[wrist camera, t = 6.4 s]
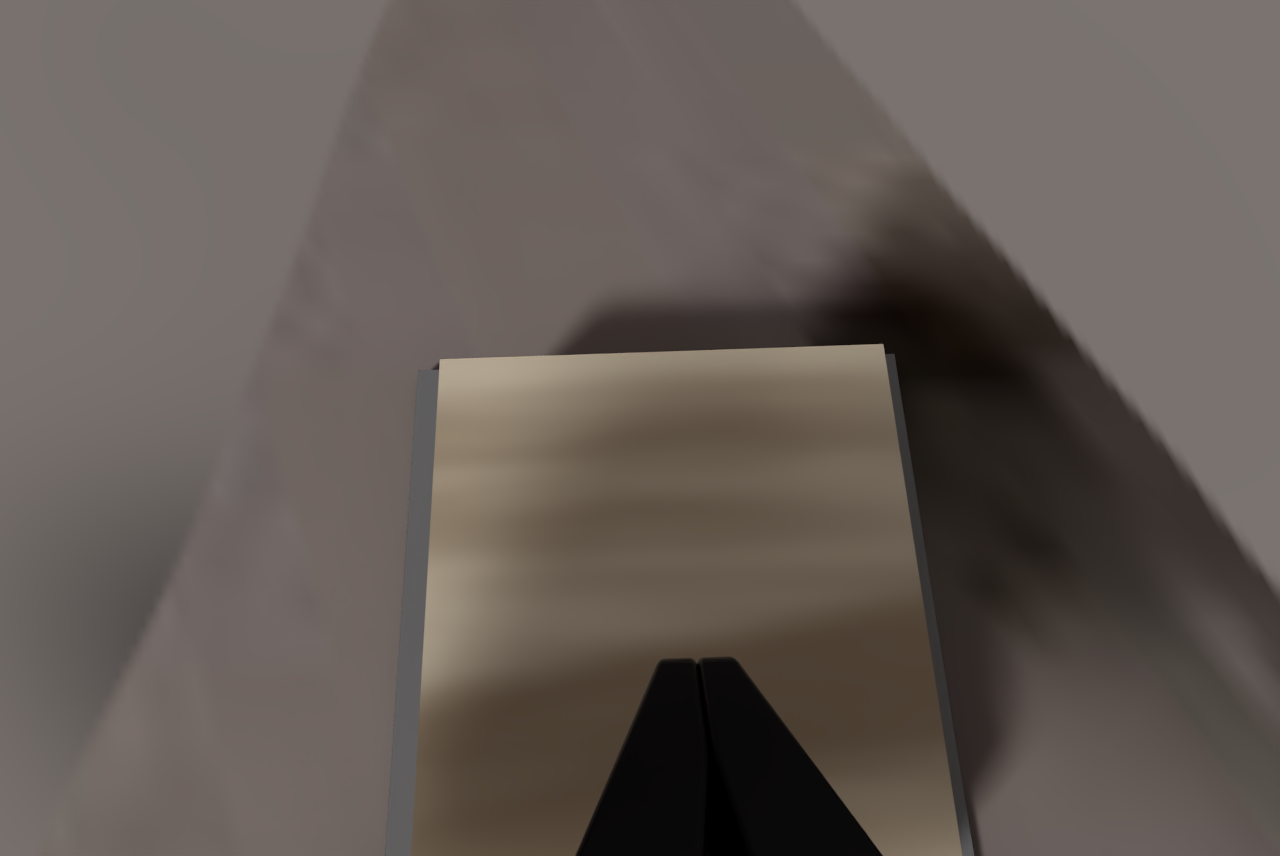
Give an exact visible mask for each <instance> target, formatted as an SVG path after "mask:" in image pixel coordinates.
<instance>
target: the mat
mask: <svg viewBox="0 0 1280 856" xmlns="http://www.w3.org/2000/svg"><path fill="white" fill-rule="evenodd" d="M885 358H886V365H887V371H888V378H889V384H890V391H891V397H892V404H893V410H894V417H895V423H896V430H897V436H898V443H899V449H900V455H901V462H902V468H903V475H904V481H905V488H906V494H907V501H908V507H909V514H910V520H911V527H912V533H913V540H914V546H915V553H916V559H917V565H918V572H919V578H920V585H921V591H922V598H923V604H924V611H925V617H926V624H927V630H928V637H929V643H930V650H931V656H932V662H933V669H934V675H935V682H936V688H937V695H938V701H939V708H940V714H941V721H942V727H943V734H944V740H945V747H946V753H947V759H948V766H949V772H950V779H951V785H952V792H953V798H954V805H955V811H956V818H957V824H958V831H959V837H960V844H961V850H962V856H974V851H973V845H972V839H971V832H970V826H969V820H968V813H967V807H966V801H965V795H964V788H963V782H962V776H961V769H960V763H959V757H958V751H957V744H956V738H955V732H954V726H953V719H952V713H951V707H950V700H949V694H948V688H947V682H946V675H945V669H944V663H943V656H942V650H941V644H940V638H939V631H938V625H937V619H936V612H935V606H934V600H933V594H932V587H931V581H930V575H929V568H928V562H927V556H926V550H925V543H924V537H923V531H922V525H921V518H920V512H919V506H918V499H917V493H916V487H915V481H914V474H913V468H912V462H911V455H910V449H909V443H908V437H907V430H906V424H905V418H904V411H903V405H902V399H901V393H900V386H899V380H898V374H897V367H896V361H895V355H894V354H885ZM438 383H439V370H418V377H417V391H416V406H415V421H414V436H413V450H412V465H411V480H410V494H409V509H408V524H407V538H406V553H405V568H404V582H403V597H402V612H401V626H400V641H399V656H398V670H397V685H396V700H395V714H394V729H393V744H392V758H391V773H390V788H389V802H388V817H387V832H386V846H385V856H411V848H412V831H413V814H414V797H415V779H416V762H417V745H418V728H419V711H420V693H421V676H422V659H423V642H424V624H425V607H426V590H427V573H428V555H429V538H430V521H431V504H432V487H433V469H434V452H435V435H436V418H437V400H438Z"/></svg>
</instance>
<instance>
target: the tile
mask: <svg viewBox="0 0 1280 856" xmlns="http://www.w3.org/2000/svg"><path fill="white" fill-rule="evenodd" d="M723 656H731V657H733V658H735V659H736V660H737V661H738V662H739V663H740V664H741V666H742V667H743V668H744V670H745V671H746V672H747V674H748V675H749V676H750V678H751V679H752V680H753V682H754V683H755V684H756V686H757V687H758V688H759V690H760V691H761V692H762V694H763V695H764V696H765V698H766V699H767V701H768V702H769V703H770V705H771V706H772V707H773V709H774V710H775V711H776V713H777V714H778V715H779V717H780V718H781V719H782V721H783V722H784V723H785V725H786V726H787V727H788V729H789V730H790V731H791V733H792V734H793V735H794V737H795V738H796V739H797V741H798V742H799V743H800V745H801V746H802V748H803V749H804V750H805V752H806V753H807V754H808V756H809V757H810V758H811V760H812V761H813V762H814V764H815V765H816V766H817V768H818V769H819V770H820V772H821V773H822V774H823V776H824V777H825V778H826V780H827V781H828V782H829V784H830V785H831V786H832V788H833V789H834V790H835V792H836V793H837V795H838V796H839V797H840V799H841V800H842V801H843V803H844V804H845V805H846V807H847V808H848V809H849V811H850V812H851V813H852V815H853V816H854V817H855V819H856V820H857V821H858V823H859V824H860V825H861V827H862V828H863V829H864V831H865V832H866V833H867V835H868V836H869V837H870V839H871V840H872V842H873V843H874V844H875V846H876V847H877V848H878V850H879V851H880V852H881V854H882V855H883V856H962V850H961V844H960V837H959V831H958V824H957V818H956V811H955V805H954V798H953V792H952V785H951V779H950V772H949V766H948V759H947V753H946V747H945V740H944V734H943V727H942V721H941V714H940V708H939V701H938V695H937V688H936V682H935V675H934V669H933V662H932V656H931V650H930V643H929V637H928V630H927V624H926V617H925V611H924V604H923V598H922V591H921V585H920V578H919V572H918V565H917V559H916V553H915V546H914V540H913V533H912V527H911V520H910V514H909V507H908V501H907V494H906V488H905V481H904V475H903V468H902V462H901V455H900V449H899V443H898V436H897V430H896V423H895V417H894V410H893V404H892V397H891V391H890V384H889V378H888V371H887V365H886V358H885V352H884V346H883V344H869V345H840V346H811V347H782V348H754V349H725V350H696V351H667V352H639V353H610V354H581V355H552V356H524V357H495V358H466V359H440V366H439V383H438V400H437V418H436V435H435V452H434V469H433V487H432V504H431V521H430V538H429V555H428V573H427V590H426V607H425V624H424V642H423V659H422V676H421V693H420V711H419V728H418V745H417V762H416V779H415V797H414V814H413V831H412V848H411V856H575V855H576V852H577V850H578V848H579V845H580V843H581V841H582V838H583V836H584V834H585V831H586V829H587V827H588V824H589V822H590V820H591V817H592V815H593V813H594V810H595V808H596V805H597V803H598V801H599V798H600V796H601V794H602V791H603V789H604V787H605V784H606V782H607V780H608V777H609V775H610V773H611V770H612V768H613V765H614V763H615V761H616V758H617V756H618V754H619V751H620V749H621V747H622V744H623V742H624V740H625V737H626V735H627V733H628V730H629V728H630V725H631V723H632V721H633V718H634V716H635V714H636V711H637V709H638V707H639V704H640V702H641V700H642V697H643V695H644V693H645V690H646V688H647V686H648V683H649V681H650V678H651V676H652V674H653V671H654V669H655V667H656V665H657V663H658V662H659V661H660V660H661V659H666V658H693V659H694V660H695V661H696V663H697V662H698V660H699V659H700V658H702V657H723Z"/></svg>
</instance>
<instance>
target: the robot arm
mask: <svg viewBox="0 0 1280 856" xmlns="http://www.w3.org/2000/svg"><path fill="white" fill-rule="evenodd" d="M575 856H883V855H882V854H881V852H880V851H879V850H878V848H877V847H876V846H875V844H874V843H873V842H872V840H871V839H870V837H869V836H868V835H867V833H866V832H865V831H864V829H863V828H862V827H861V825H860V824H859V823H858V821H857V820H856V819H855V817H854V816H853V815H852V813H851V812H850V811H849V809H848V808H847V807H846V805H845V804H844V803H843V801H842V800H841V799H840V797H839V796H838V795H837V793H836V792H835V790H834V789H833V788H832V786H831V785H830V784H829V782H828V781H827V780H826V778H825V777H824V776H823V774H822V773H821V772H820V770H819V769H818V768H817V766H816V765H815V764H814V762H813V761H812V760H811V758H810V757H809V756H808V754H807V753H806V752H805V750H804V749H803V748H802V746H801V745H800V743H799V742H798V741H797V739H796V738H795V737H794V735H793V734H792V733H791V731H790V730H789V729H788V727H787V726H786V725H785V723H784V722H783V721H782V719H781V718H780V717H779V715H778V714H777V713H776V711H775V710H774V709H773V707H772V706H771V705H770V703H769V702H768V701H767V699H766V698H765V696H764V695H763V694H762V692H761V691H760V690H759V688H758V687H757V686H756V684H755V683H754V682H753V680H752V679H751V678H750V676H749V675H748V674H747V672H746V671H745V670H744V668H743V667H742V666H741V664H740V663H739V662H738V661H737V660H736V659H735V658H733V657H731V656H723V657H702V658H700V659H699V660H698V662H697V663H696V661H695V660H694V659H693V658H666V659H661V660H660V661H659V662H658V663H657V665H656V667H655V669H654V671H653V674H652V676H651V678H650V681H649V683H648V686H647V688H646V690H645V693H644V695H643V697H642V700H641V702H640V704H639V707H638V709H637V711H636V714H635V716H634V718H633V721H632V723H631V725H630V728H629V730H628V733H627V735H626V737H625V740H624V742H623V744H622V747H621V749H620V751H619V754H618V756H617V758H616V761H615V763H614V765H613V768H612V770H611V773H610V775H609V777H608V780H607V782H606V784H605V787H604V789H603V791H602V794H601V796H600V798H599V801H598V803H597V805H596V808H595V810H594V813H593V815H592V817H591V820H590V822H589V824H588V827H587V829H586V831H585V834H584V836H583V838H582V841H581V843H580V845H579V848H578V850H577V852H576V855H575Z"/></svg>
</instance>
